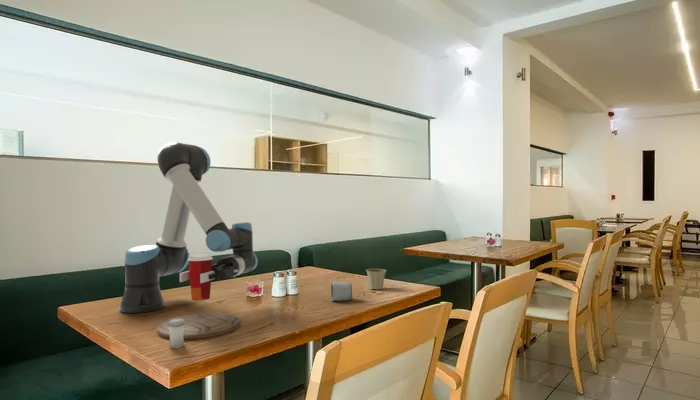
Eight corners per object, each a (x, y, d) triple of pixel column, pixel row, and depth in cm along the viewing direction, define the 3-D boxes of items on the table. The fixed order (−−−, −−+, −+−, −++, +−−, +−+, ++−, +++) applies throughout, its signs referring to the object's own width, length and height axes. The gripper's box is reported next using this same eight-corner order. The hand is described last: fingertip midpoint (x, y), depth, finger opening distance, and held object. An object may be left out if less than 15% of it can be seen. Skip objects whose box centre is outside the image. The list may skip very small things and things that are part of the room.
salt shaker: (166, 347, 119) (166, 321, 119) (175, 343, 123) (175, 318, 123) (178, 349, 118) (178, 322, 118) (186, 344, 122) (186, 319, 122)
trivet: (208, 314, 155) (208, 309, 155) (256, 326, 141) (256, 320, 141) (141, 331, 135) (141, 325, 135) (189, 347, 120) (189, 340, 120)
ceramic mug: (352, 302, 172) (352, 282, 172) (332, 303, 170) (332, 283, 170) (348, 296, 182) (348, 278, 182) (329, 297, 181) (329, 279, 181)
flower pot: (376, 286, 204) (376, 267, 204) (390, 289, 197) (390, 270, 197) (361, 288, 198) (361, 270, 198) (375, 292, 191) (375, 272, 191)
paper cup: (212, 295, 143) (212, 253, 143) (214, 299, 136) (213, 255, 136) (187, 297, 140) (187, 254, 140) (187, 302, 133) (187, 257, 133)
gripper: (254, 278, 153) (218, 291, 130) (206, 276, 158) (163, 288, 135) (254, 257, 153) (218, 267, 130) (206, 255, 158) (163, 265, 135)
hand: (190, 278), depth 133 cm, fingers closed on paper cup, 7 cm apart
